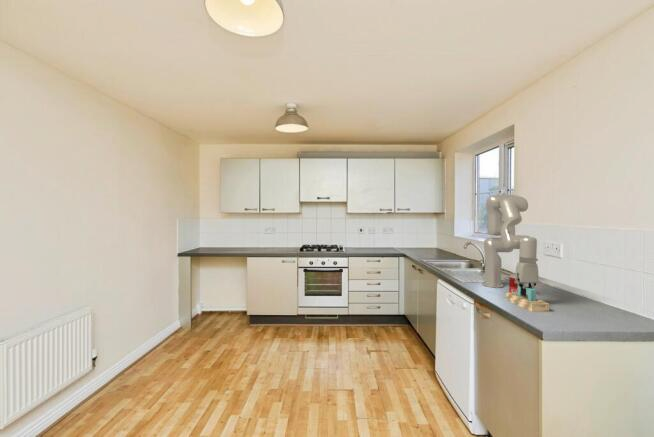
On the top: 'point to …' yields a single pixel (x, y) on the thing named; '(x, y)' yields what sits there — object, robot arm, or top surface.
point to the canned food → (513, 285)
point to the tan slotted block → (528, 303)
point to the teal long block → (528, 293)
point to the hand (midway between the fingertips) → (526, 295)
